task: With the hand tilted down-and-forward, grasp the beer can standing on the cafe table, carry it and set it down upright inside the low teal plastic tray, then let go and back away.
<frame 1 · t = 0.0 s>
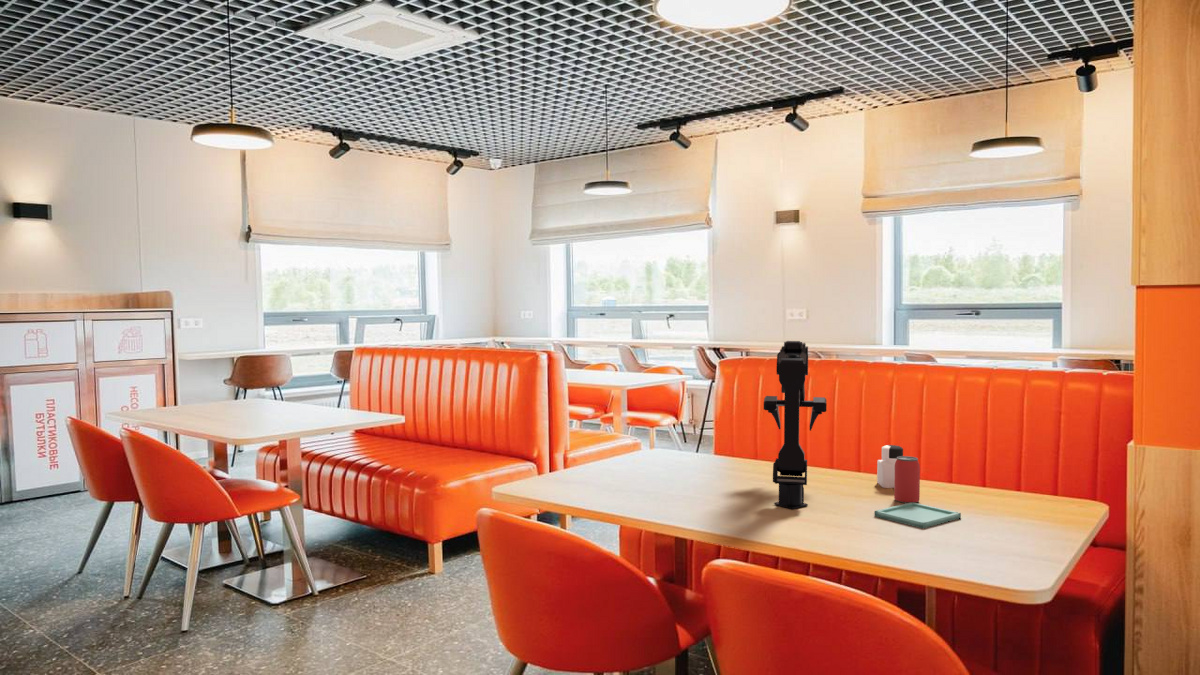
hand: (794, 429, 254), 15 cm above the table, tool pointing down, fingers open, 9 cm apart
medicine bottle: (891, 486, 245), on the table
beer can: (906, 501, 226), on the table
tray: (917, 517, 209), on the table
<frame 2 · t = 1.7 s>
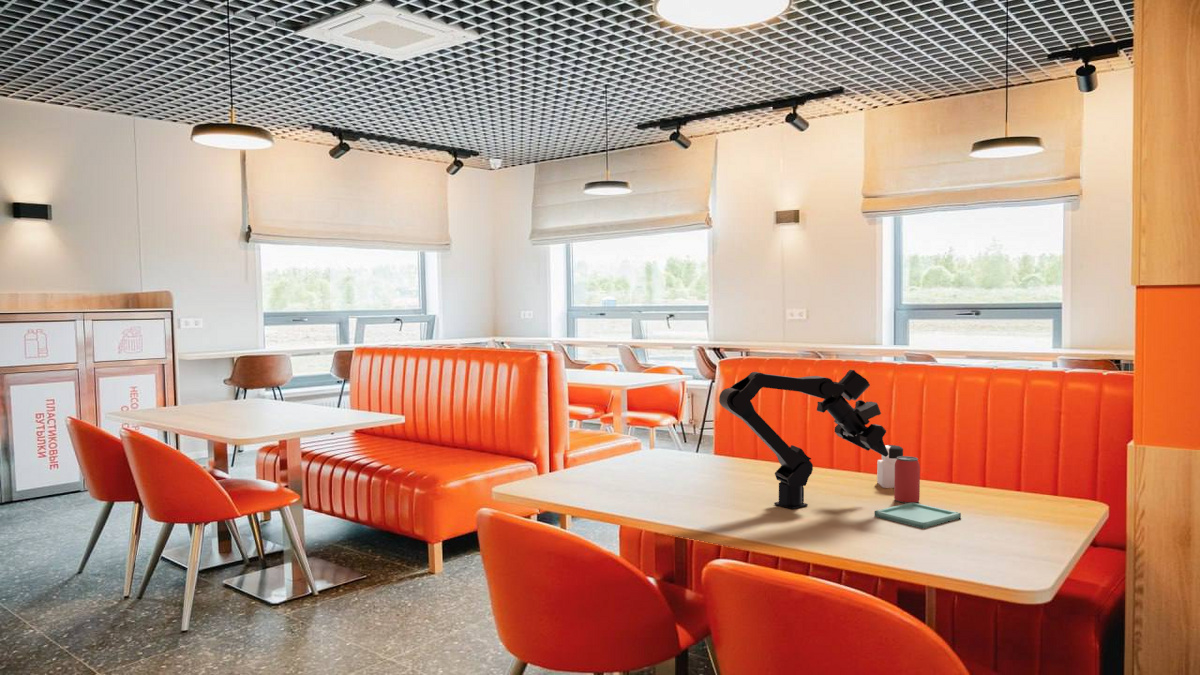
hand: (878, 452, 226), 13 cm above the table, tool tilted 45°, fingers open, 9 cm apart
nothing on the table moved.
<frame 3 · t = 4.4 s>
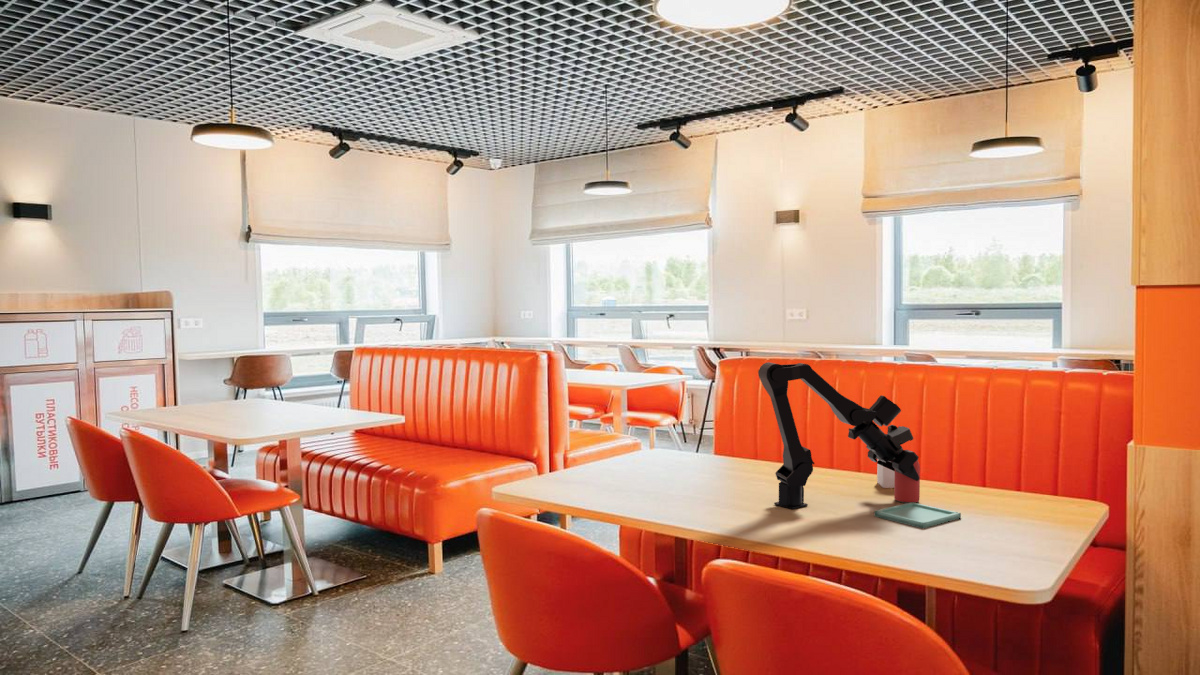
hand: (911, 477, 226), 7 cm above the table, tool tilted 45°, fingers closed on beer can, 7 cm apart
beer can: (906, 501, 226), on the table, touching gripper
everything else where it was.
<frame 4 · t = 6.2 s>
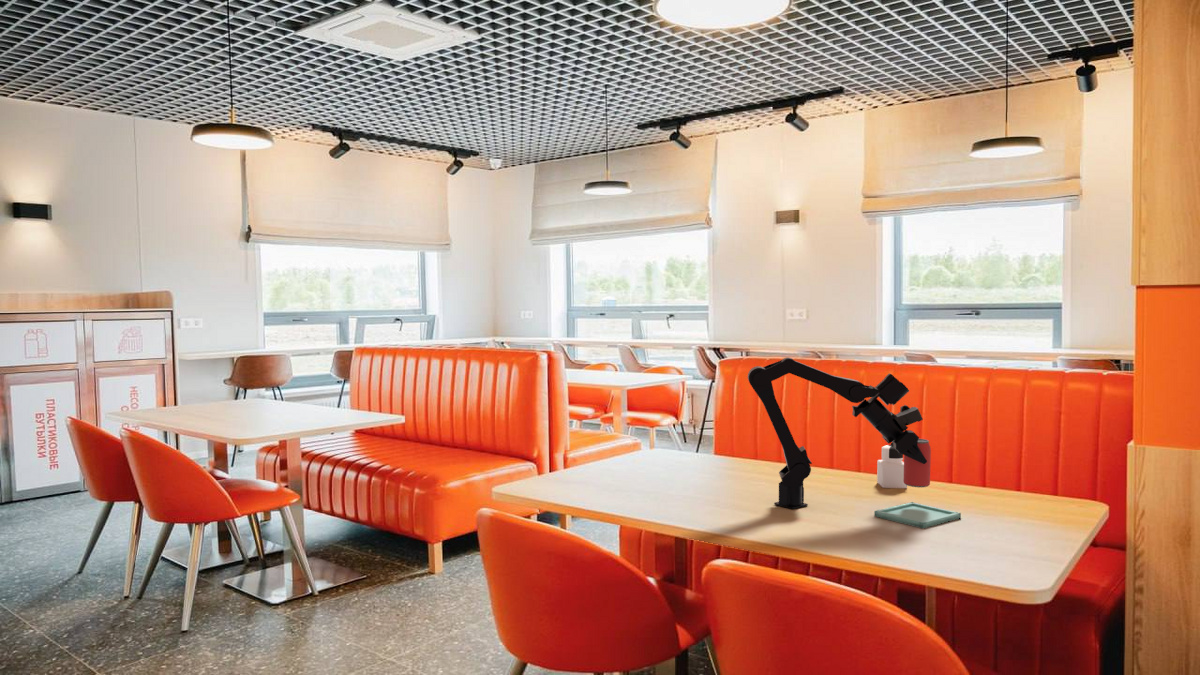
hand: (922, 460, 216), 13 cm above the table, tool tilted 45°, fingers closed on beer can, 7 cm apart
beer can: (916, 485, 216), point 6 cm above the table, touching gripper
everything else where it was.
when the fingers open (8 cm above the table, at t = 8.2 s): beer can stays where it is, resting on tray.
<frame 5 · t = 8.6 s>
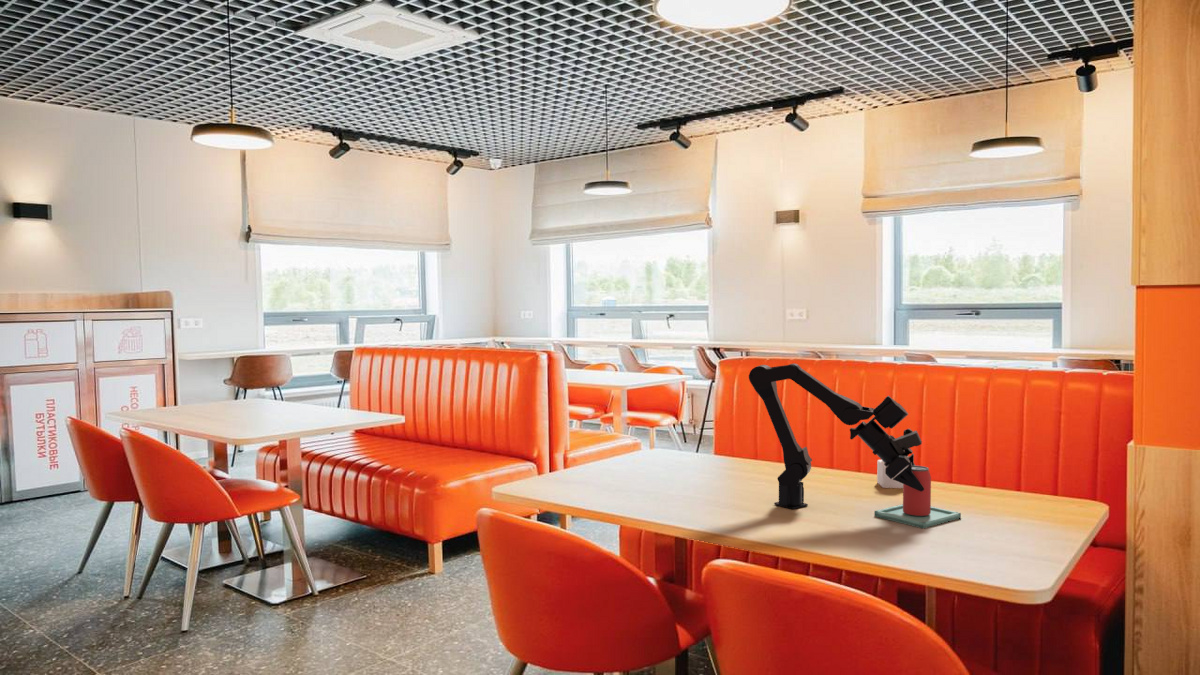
hand: (923, 486, 208), 8 cm above the table, tool tilted 45°, fingers open, 9 cm apart
beer can: (916, 514, 209), point 1 cm above the table, touching tray
everything else where it was.
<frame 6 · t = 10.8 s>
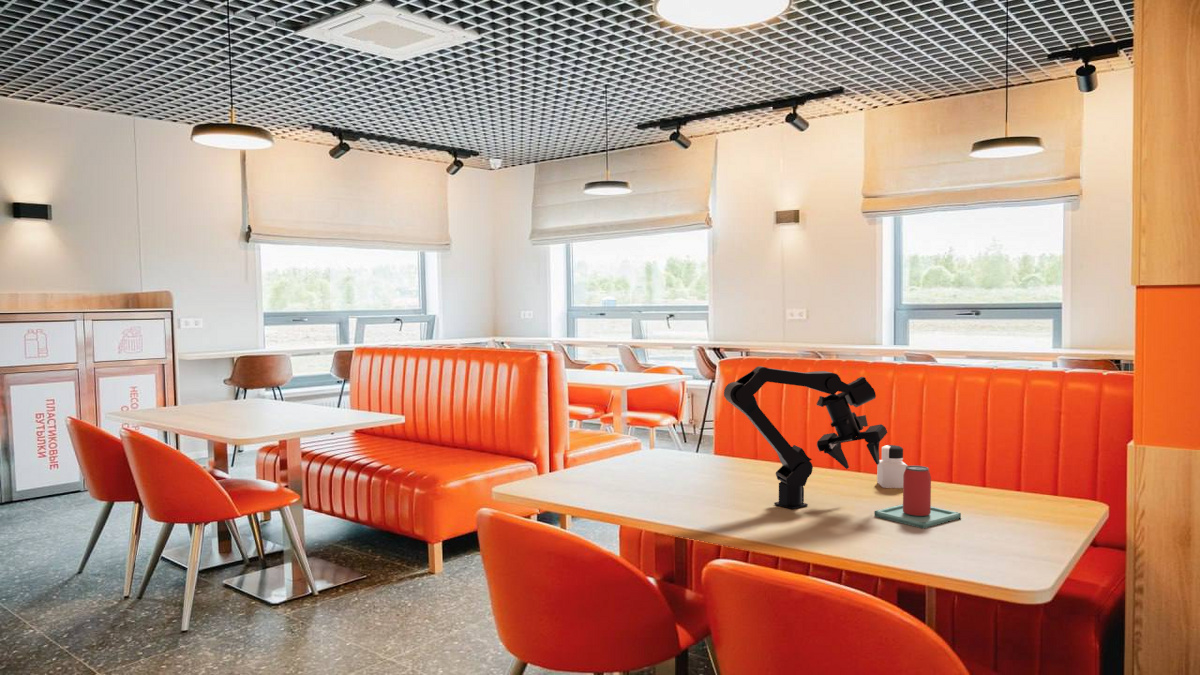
hand: (862, 466, 223), 10 cm above the table, tool tilted 25°, fingers open, 9 cm apart
nothing on the table moved.
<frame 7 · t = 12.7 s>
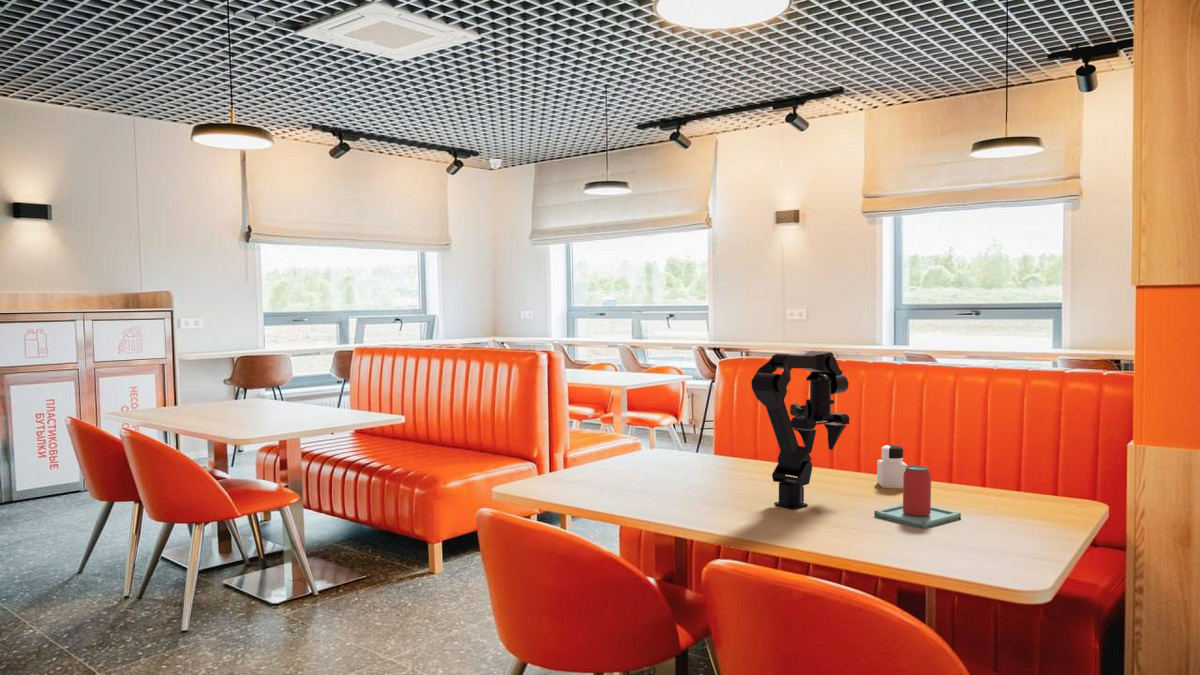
hand: (819, 451, 230), 13 cm above the table, tool pointing down, fingers open, 9 cm apart
nothing on the table moved.
at the end: beer can inside the target area on the tray (0.2 cm from its centre), point 0.6 cm above the tray's base; beer can tilted 0°; the gripper is holding nothing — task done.
